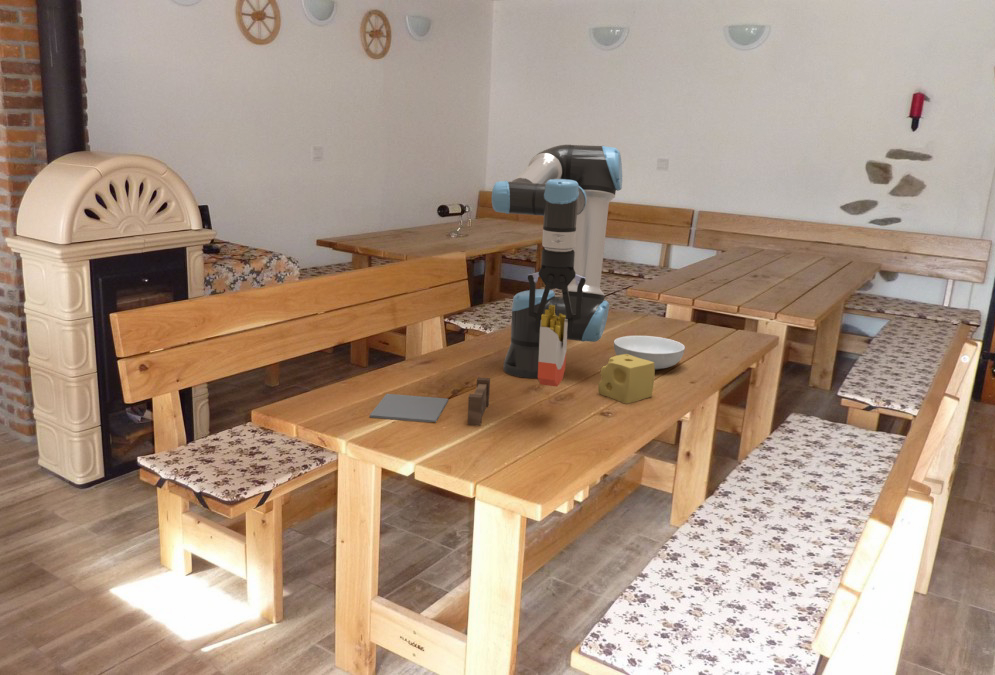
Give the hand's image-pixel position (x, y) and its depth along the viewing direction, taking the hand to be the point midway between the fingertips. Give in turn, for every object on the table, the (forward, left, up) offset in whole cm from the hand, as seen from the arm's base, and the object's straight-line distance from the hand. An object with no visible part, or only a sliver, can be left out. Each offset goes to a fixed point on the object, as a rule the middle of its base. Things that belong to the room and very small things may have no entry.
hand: (553, 346), depth 195 cm
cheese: (-23, +19, -19) cm, 35 cm away
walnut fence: (0, -17, -18) cm, 25 cm away
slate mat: (0, -34, -18) cm, 39 cm away
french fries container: (0, 0, -9) cm, 9 cm away
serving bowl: (-53, +26, -19) cm, 62 cm away
